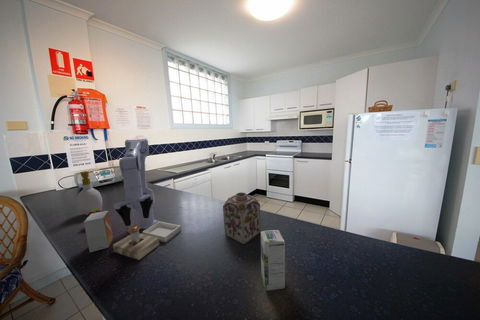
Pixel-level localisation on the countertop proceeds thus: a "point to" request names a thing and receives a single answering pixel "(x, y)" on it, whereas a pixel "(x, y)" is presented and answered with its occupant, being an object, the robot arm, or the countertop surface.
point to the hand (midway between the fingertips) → (137, 221)
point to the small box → (98, 231)
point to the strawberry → (94, 211)
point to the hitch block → (136, 246)
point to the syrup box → (273, 259)
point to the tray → (163, 231)
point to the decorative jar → (242, 217)
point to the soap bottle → (88, 195)
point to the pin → (134, 233)
